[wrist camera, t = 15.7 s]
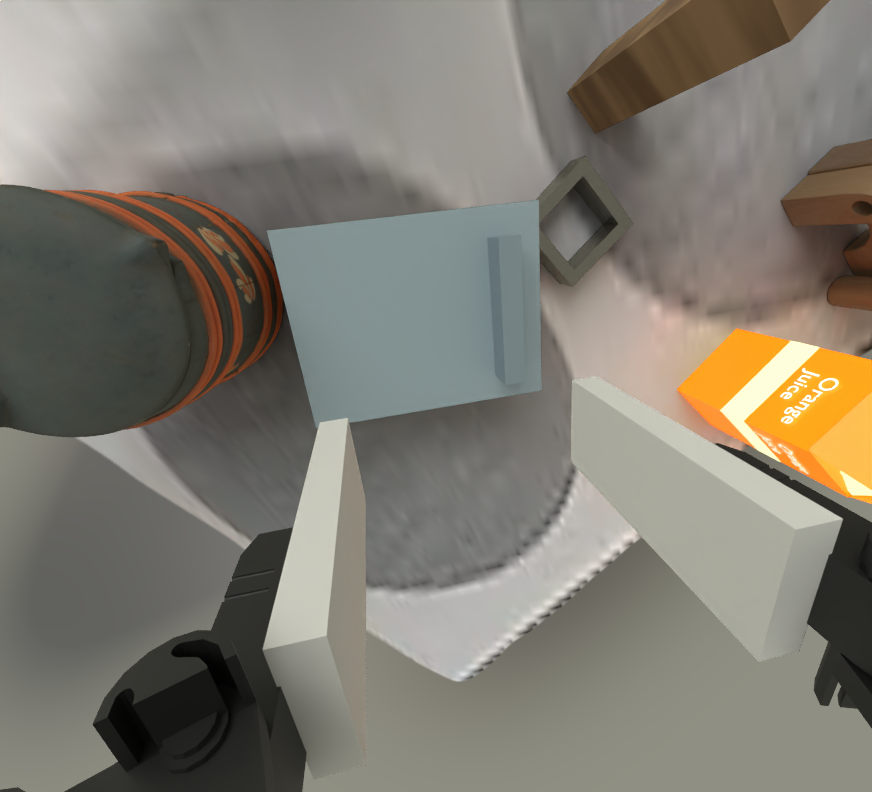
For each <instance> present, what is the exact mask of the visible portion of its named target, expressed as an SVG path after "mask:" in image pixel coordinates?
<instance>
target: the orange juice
mask: <svg viewBox="0 0 872 792" xmlns="http://www.w3.org/2000/svg"><path fill="white" fill-rule="evenodd" d="M677 390H678V391H679V392H680V393H681V394H682V395H683V396H684V397H685V398H686V400H687V401H688V402H689V403H690V404H691V405H692V406H693V407H694V408H695V409H696V410H697V411H698V412H699V413H700V414H701V415H702V416H703V417H704V418H705V419H706V420H707V421H708V422H709V423H710V424H711V425H712V426H714V427H716V428H718V429H720V430H721V431H723V432H725V433H727V434H729V435H731V436H733V437H735V438H737V439H738V440H740V441H742V442H744V443H746V444H748V445H750V446H752V447H754V448H756V449H757V450H758V451H760V452H762V453H764V454H766V455H768V456H770V457H771V458H773V459H775V460H777V461H779V462H782V463H784V464H786V465H788V466H790V467H791V468H793V469H795V470H797V471H799V472H801V473H803V474H805V475H807V476H808V477H810V478H812V479H814V480H816V481H818V482H820V483H822V484H824V485H825V486H827V487H829V488H831V489H833V490H835V491H837V492H839V493H841V494H842V495H844V496H846V497H848V498H849V497H852V498H855V499H859V500H862V501H865V502H868V503H871V504H872V360H869V359H865V358H861V357H856V356H852V355H848V354H844V353H839V352H835V351H831V350H826V349H822V348H820V347H816V346H812V345H808V344H803V343H799V342H795V341H788V340H783V339H779V338H775V337H771V336H766V335H762V334H758V333H753V332H749V331H745V330H741V329H736V330H735V331H734V332H733V333H732V334H731V335H730V336H729V337H728V338H727V339H726V340H725V341H724V342H723V343H722V344H721V345H720V346H719V347H718V348H717V349H716V350H715V351H714V352H713V353H712V354H711V355H710V356H709V357H708V358H707V359H706V360H705V361H704V362H703V363H702V364H701V365H700V366H699V367H698V368H697V369H696V370H695V371H694V372H693V373H692V374H691V375H690V376H689V378H688V379H687V380H686V381H685V382H684V383H683V384H682V385H681V386H680V387H679V388H678V389H677Z"/></svg>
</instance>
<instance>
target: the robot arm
mask: <svg viewBox="0 0 872 792" xmlns="http://www.w3.org/2000/svg"><path fill="white" fill-rule="evenodd" d="M571 462H572V463H573V464H574V465H575V466H576V467H577V468H578V469H579V470H580V472H581V473H582V474H583V475H584V476H585V477H586V478H587V479H588V480H589V481H590V482H591V483H592V484H593V485H594V486H595V488H596V489H597V490H598V491H599V492H600V493H601V494H602V495H603V496H604V497H605V498H606V499H607V500H608V501H609V502H610V504H611V505H612V506H613V507H614V508H615V509H616V510H617V511H618V512H619V513H620V514H621V515H622V516H623V517H624V518H625V520H626V521H627V522H628V523H629V524H630V525H631V526H632V527H633V528H634V529H635V530H636V531H637V532H638V533H639V534H640V536H641V537H642V538H643V539H644V540H645V541H646V542H647V543H648V544H649V545H650V546H651V547H652V548H653V549H654V550H655V551H656V553H657V554H658V555H659V556H660V557H661V558H662V559H663V560H664V561H665V562H666V563H667V564H668V565H669V566H670V567H671V569H672V570H673V571H674V572H675V573H676V574H677V575H678V576H679V577H680V578H681V579H682V580H683V581H684V582H685V584H686V585H687V586H688V587H689V588H690V589H691V590H692V591H693V592H694V593H695V594H696V595H697V596H698V597H699V598H700V599H701V601H702V602H703V603H704V604H705V605H706V606H707V607H708V608H709V609H710V610H711V611H712V612H713V613H714V614H715V616H716V617H717V618H718V619H719V620H720V621H721V622H722V623H723V624H724V625H725V626H726V627H727V628H728V629H729V630H730V632H732V634H733V635H734V636H735V637H736V638H737V639H738V640H739V641H740V642H741V643H742V644H743V645H744V647H745V648H747V650H748V651H749V652H750V653H751V654H752V655H753V656H754V657H755V658H756V659H757V660H758V661H759V662H760V661H764V660H768V659H772V658H776V657H779V656H783V655H787V654H791V653H795V652H798V651H800V648H801V645H802V642H803V639H804V636H805V633H806V630H807V627H808V624H809V625H810V626H811V627H812V628H813V629H814V630H816V631H817V632H818V633H819V634H820V635H821V636H822V637H824V638H825V639H826V640H827V641H828V644H827V647H826V650H825V653H824V655H823V658H822V661H821V664H820V667H819V669H818V672H817V675H816V677H815V684H814V692H815V694H816V696H817V698H818V701H819V703H820V705H824V706H828V705H829V703H830V701H831V698H832V696H833V694H834V691H835V689H836V686H837V683H838V682H839V683H840V685H841V688H840V691H839V693H838V703H839V706H840V707H846V708H857V709H858V710H859V711H860V713H861V714H862V715H863V717H864V718H865V720H866V721H867V722H868V724H869V725H870V727H871V728H872V522H870V521H868V520H866V519H864V518H863V517H861V516H859V515H857V514H855V513H854V512H852V511H850V510H848V509H847V508H844V507H843V506H841V505H839V504H837V503H836V502H834V501H832V500H830V499H828V498H827V497H825V496H823V495H821V494H819V493H818V492H816V491H814V490H812V489H810V488H809V487H807V486H805V485H803V484H801V483H799V482H798V481H796V480H790V478H789V476H787V475H785V474H783V473H781V472H780V471H778V470H776V469H774V468H773V469H770V467H769V465H767V464H765V463H763V462H762V461H760V460H758V459H756V458H754V457H753V456H751V455H749V454H747V453H745V452H742V451H739V450H736V449H733V448H730V447H727V446H724V445H721V444H718V443H716V444H713V443H711V442H710V441H708V440H706V439H704V438H703V437H701V436H699V435H698V434H696V433H694V432H692V431H691V430H689V429H687V428H685V427H684V426H682V425H680V424H679V423H677V422H675V421H673V420H672V419H670V418H668V417H667V416H665V415H663V414H661V413H660V412H658V411H656V410H654V409H653V408H651V407H649V406H648V405H646V404H644V403H642V402H641V401H639V400H637V399H635V398H634V397H632V396H630V395H629V394H627V393H625V392H623V391H622V390H620V389H618V388H616V387H615V386H613V385H611V384H610V383H608V382H606V381H604V380H603V379H601V378H599V377H598V376H594V377H588V378H582V379H576V380H572V418H571ZM93 726H94V727H95V728H96V730H97V732H98V733H99V734H100V736H101V737H102V739H103V740H104V741H105V743H106V744H107V746H108V747H109V749H110V750H111V752H112V753H113V755H114V756H115V757H116V759H117V760H118V762H117V763H115V764H114V765H112V766H110V767H109V768H107V769H105V770H103V771H102V772H99V773H98V774H96V775H94V776H92V777H90V778H88V779H87V780H85V781H83V782H81V783H79V784H77V785H76V786H74V787H72V788H70V789H68V790H67V791H65V792H302V788H303V779H304V771H305V762H306V761H307V764H308V766H309V769H310V771H311V774H312V776H313V779H317V778H321V777H325V776H329V775H332V774H336V773H340V772H343V771H348V770H351V769H355V768H359V767H362V766H366V500H365V495H364V490H363V486H362V481H361V476H360V472H359V467H358V462H357V457H356V453H355V448H354V443H353V439H352V434H351V429H350V425H349V420H348V418H343V419H338V420H332V421H326V422H320V424H319V428H318V432H317V436H316V440H315V443H314V447H313V451H312V455H311V459H310V463H309V467H308V471H307V475H306V479H305V483H304V487H303V491H302V495H301V499H300V503H299V507H298V511H297V515H296V519H295V523H294V527H293V528H288V529H283V530H278V531H273V532H268V533H263V534H259V535H258V536H257V537H256V538H255V539H254V541H253V542H252V543H251V544H250V545H249V546H248V547H247V549H246V550H245V551H244V552H243V553H242V554H241V556H240V559H239V561H238V564H237V566H236V569H235V571H234V574H233V576H232V582H230V584H229V586H228V589H227V592H226V594H225V601H224V602H222V604H221V607H220V609H219V612H218V614H217V617H216V619H215V622H214V624H213V627H212V629H211V631H206V630H203V631H202V630H200V631H199V630H197V631H194V632H191V633H188V634H184V635H181V636H178V637H175V638H173V639H171V640H169V641H167V642H166V643H164V644H162V645H161V646H159V647H157V648H156V649H154V650H152V651H150V652H148V653H147V654H146V655H145V656H144V657H143V658H141V659H140V660H139V661H138V662H137V663H136V664H135V665H133V666H132V667H131V668H130V669H129V670H127V671H126V672H125V673H124V674H123V675H122V677H121V678H120V679H119V680H118V682H117V683H116V684H115V686H114V687H113V688H112V689H111V690H110V692H109V693H108V694H107V696H106V697H105V698H104V700H103V702H102V705H101V707H100V709H99V711H98V713H97V716H96V718H95V720H94V722H93ZM0 792H25V791H23V790H21V789H20V788H10V789H3V790H0Z"/></svg>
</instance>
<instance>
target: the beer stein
mask: <svg viewBox="0 0 872 792" xmlns="http://www.w3.org/2000/svg"><path fill="white" fill-rule="evenodd" d="M282 311H283V302H282V291H281V286H280V282H279V278H278V275H277V272H276V270H275V267H274V265H273V263H272V261H271V259H270V257H269V255H268V254H267V252H266V251H265V249H264V248H263V246H262V245H261V244H260V242H259V241H258V240H257V239H256V238H255V237H254V236H253V235H252V234H251V233H250V232H249V230H248V229H247V228H246V227H245V226H244V225H242V224H241V223H240V222H239V221H238V220H237V219H235V218H234V217H232V216H230V215H229V214H228V213H226V212H224V211H222V210H220V209H218V208H216V207H214V206H212V205H209V204H207V203H204V202H200V201H196V200H192V199H189V198H188V197H187V196H186V197H185V196H174V195H173V194H169V193H161V192H154V193H153V192H148V191H133V192H125V193H120V194H115V193H110V192H104V191H96V190H70V191H54V190H41V189H36V188H31V187H26V186H17V185H0V427H9V428H13V429H17V430H21V431H26V432H30V433H35V434H41V435H49V436H60V437H88V436H97V435H104V434H109V433H113V432H117V431H120V430H124V429H131V428H137V427H141V426H144V425H148V424H151V423H154V422H156V421H159V420H161V419H163V418H166V417H168V416H169V415H171V414H173V413H175V412H177V411H178V410H179V409H181V408H182V407H184V406H185V405H188V404H190V403H192V402H194V401H196V400H197V399H199V398H200V397H201V396H203V395H204V394H206V393H207V392H208V391H210V390H211V389H212V388H214V387H215V386H216V385H217V384H220V383H222V382H224V381H227V380H228V379H230V378H232V377H234V376H235V375H237V374H238V373H240V372H241V371H243V370H244V369H246V368H247V367H249V366H250V365H252V364H253V363H254V362H256V361H257V360H258V359H259V358H260V357H261V356H262V355H263V354H264V353H265V352H266V351H267V349H268V348H269V347H270V346H271V344H272V343H273V341H274V339H275V337H276V335H277V333H278V331H279V328H280V325H281V320H282Z"/></svg>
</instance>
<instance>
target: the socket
mask: <svg viewBox="0 0 872 792" xmlns="http://www.w3.org/2000/svg"><path fill="white" fill-rule="evenodd" d="M573 186H574V187H575V189H576V190H577V191H578V193H579V194H580V195H581V197H582V198H583V199H584V201H585V202H586V203H587V205H588V206H589V207H590V209H591V210H592V211H593V213H594V214H595V215H596V217H597V218H598V219H599V221H600V222H601V223H602V226H601V227H600V228H599V229H598V231H597V232H596V233H595V234H594V235H593V236H592V237H591V238H590V239H589V240H588V241H587V242H586V243H585V244H584V245H583V246H582V247H581V248H580V249H579V251H578V252H577V253H576V254H575V255H574V256H573V257H572V258H571V259H570V260H569V261H568V262H567V261H566V260H565V258H564V257H563V256H562V255H561V254H560V252H559V251H558V250H557V249H556V248H555V246H554V245H553V244H552V243H551V241H550V240H549V239H548V238H547V237H546V235H545V234H544V233H543V232H542V231H541V229H540V228H539V255H540V261H541V262H542V263H543V265H544V266H545V267H546V268H547V269H548V270H549V272H550V273H551V274H552V275H553V276H554V277H555V278H556V280H557V281H558V282H559V283H560V284H563V285H567V286H572V287H573V286H574V285H575V284H576V283H577V282H578V281H579V280H580V279H581V278H582V277H583V275H584V274H585V273H586V272H587V271H588V270H589V269H590V268H591V267H592V266H593V265H594V264H595V263H596V262H597V261H598V260H599V259H600V258H601V257H602V256H603V255H604V254H605V253H606V252H607V251H608V250H609V249H610V248H611V246H612V245H613V244H614V243H615V242H616V241H617V240H618V239H619V238H620V237H621V236H622V235H623V234H624V233H625V232H626V231H627V230H628V229H629V228H630V227H631V226H632V225H633V224H634V223H633V222H632V220H631V219H630V218H629V216H628V215H627V214H626V212H625V211H624V209H623V208H622V207H621V205H620V204H619V202H618V201H617V200H616V198H615V197H614V195H613V194H612V193H611V191H610V190H609V188H608V187H607V186H606V184H605V183H604V181H603V180H602V179H601V177H600V176H599V174H598V173H597V172H596V170H595V169H594V167H593V166H592V165H591V163H590V162H589V160H588V159H587V158H586V156H583V157H581V158H578V159H576V160H573V161H571V162H570V163H569V164H568V165H567V166H566V167H565V168H564V169H563V170H562V171H561V173H560V174H559V175H558V176H557V177H556V178H555V179H554V180H553V181H552V182H551V184H550V185H549V186H548V187H547V188H546V189H545V190H544V191H543V192H542V194H541V195H540V196H539V197H538V198H537V199H536V200H539V223H540V222H541V221H542V220H543V219H544V218H545V217H546V216H547V215H548V214H549V212H550V211H551V210H552V209H553V208H554V207H555V206H556V205H557V204H558V203H559V202H560V200H561V199H562V198H563V197H564V196H565V195H566V194H567V193H568V192H569V191H570V190H571V189H572V187H573Z"/></svg>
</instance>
